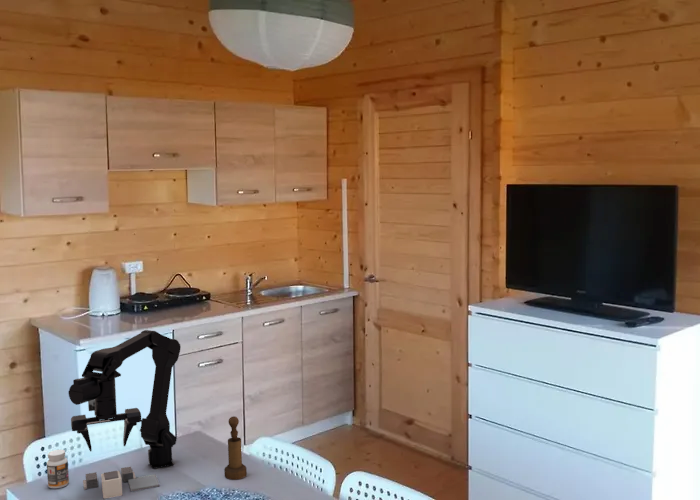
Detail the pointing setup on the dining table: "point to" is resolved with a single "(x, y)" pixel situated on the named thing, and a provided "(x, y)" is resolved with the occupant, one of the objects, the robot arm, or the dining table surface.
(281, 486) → the dining table surface
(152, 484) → the mat
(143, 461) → the dining table surface
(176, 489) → the dining table surface
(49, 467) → the pill bottle
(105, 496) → the beige open box
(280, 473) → the dining table surface
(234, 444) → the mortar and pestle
